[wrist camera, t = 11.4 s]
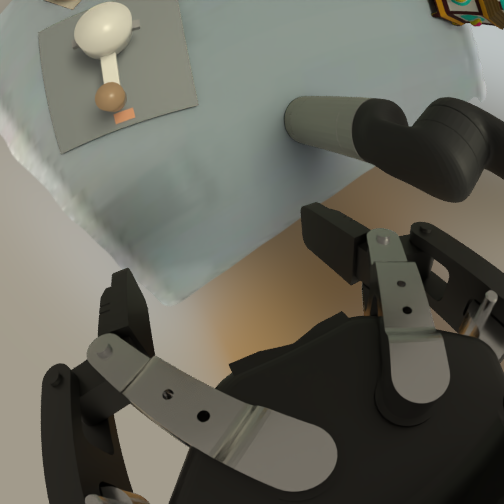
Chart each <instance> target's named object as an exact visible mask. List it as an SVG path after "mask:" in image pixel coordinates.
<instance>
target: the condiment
mask: <svg viewBox="0 0 504 504" xmlns="http://www.w3.org/2000/svg"><path fill="white" fill-rule="evenodd" d="M45 1H48V2H51V3H54V4H57V5H60V6H64V7H66V8H69V9H72V10H73V9H74V8H75V7H76V5H77V4H78V3H79V2H80V1H81V0H45Z"/></svg>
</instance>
